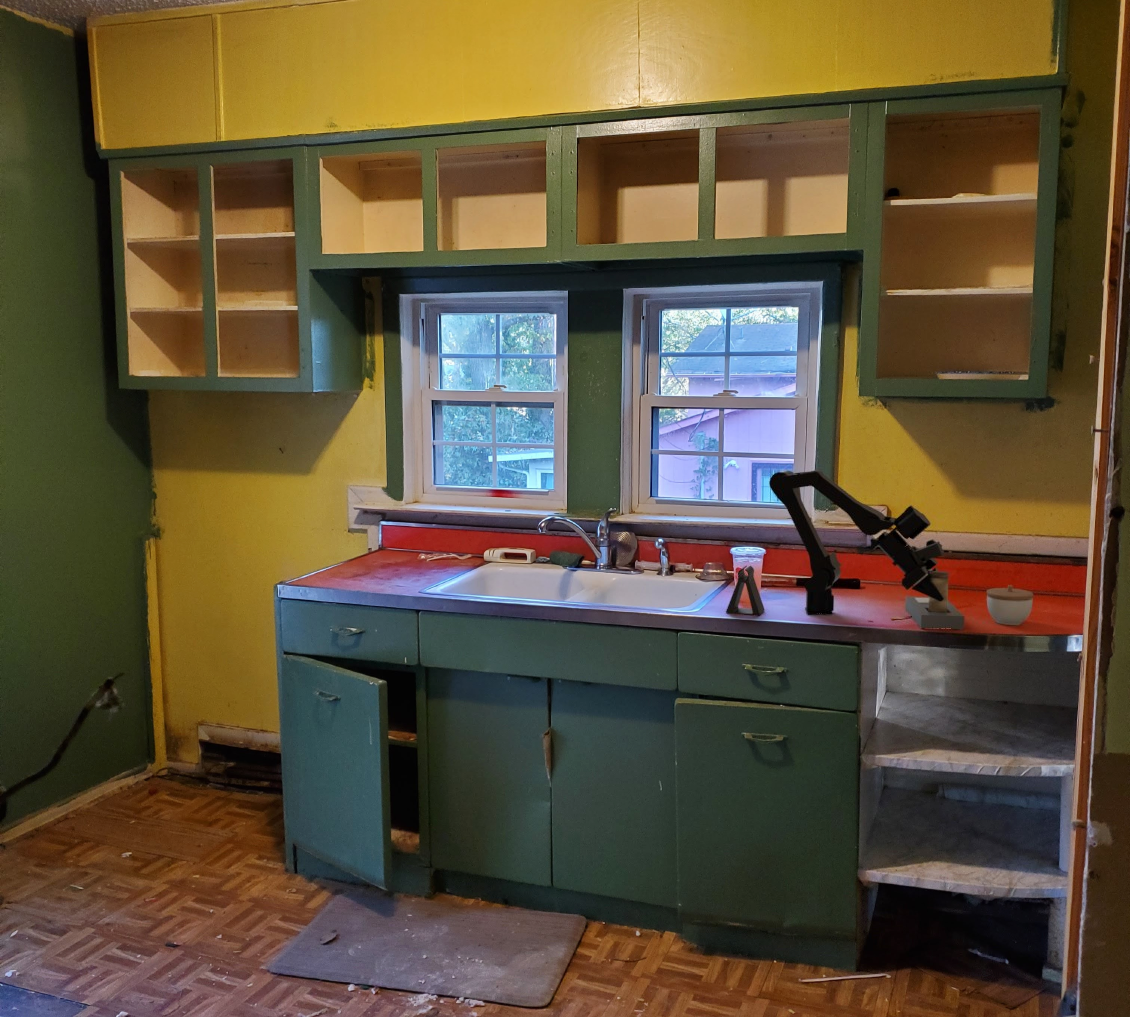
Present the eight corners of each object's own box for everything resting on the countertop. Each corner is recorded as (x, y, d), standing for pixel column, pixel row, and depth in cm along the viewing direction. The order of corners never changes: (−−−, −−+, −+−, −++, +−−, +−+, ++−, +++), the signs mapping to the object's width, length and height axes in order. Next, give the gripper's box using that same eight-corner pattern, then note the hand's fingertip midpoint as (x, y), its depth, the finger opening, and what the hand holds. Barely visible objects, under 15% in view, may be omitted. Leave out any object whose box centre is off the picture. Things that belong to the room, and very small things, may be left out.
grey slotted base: (920, 629, 256) (921, 614, 256) (905, 609, 278) (905, 595, 277) (963, 630, 255) (964, 615, 254) (944, 610, 276) (944, 596, 276)
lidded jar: (1034, 628, 256) (1036, 590, 255) (988, 626, 259) (989, 588, 258) (1028, 618, 267) (1030, 582, 265) (983, 616, 269) (984, 580, 268)
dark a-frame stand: (764, 611, 277) (765, 566, 276) (759, 616, 272) (760, 570, 270) (731, 608, 281) (731, 564, 279) (725, 613, 275) (726, 568, 274)
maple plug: (929, 625, 260) (931, 574, 258) (925, 621, 264) (927, 570, 263) (948, 626, 259) (950, 574, 257) (944, 622, 263) (946, 571, 262)
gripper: (917, 535, 252) (964, 584, 248) (930, 525, 269) (974, 571, 265) (882, 565, 257) (928, 613, 253) (897, 553, 273) (940, 599, 269)
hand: (944, 598), depth 260 cm, fingers closed on maple plug, 4 cm apart
